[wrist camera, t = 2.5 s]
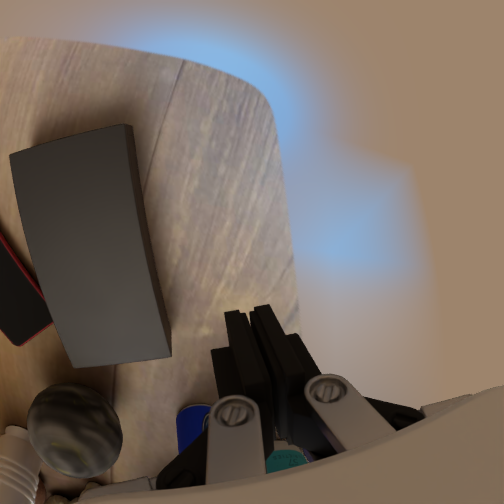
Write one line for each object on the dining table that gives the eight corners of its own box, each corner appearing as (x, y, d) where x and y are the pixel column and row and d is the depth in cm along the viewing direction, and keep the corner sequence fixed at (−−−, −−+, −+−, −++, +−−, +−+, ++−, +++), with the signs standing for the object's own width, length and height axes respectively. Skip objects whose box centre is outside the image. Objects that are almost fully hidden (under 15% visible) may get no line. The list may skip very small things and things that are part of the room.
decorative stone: (69, 346, 27) (41, 421, 17) (144, 401, 30) (142, 478, 21) (27, 390, 27) (2, 455, 18) (94, 436, 31) (86, 502, 22)
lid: (29, 151, 20) (8, 154, 17) (132, 125, 22) (124, 123, 18) (82, 343, 27) (73, 368, 23) (171, 331, 28) (172, 357, 25)
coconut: (50, 511, 30) (49, 488, 30) (23, 512, 27) (19, 488, 26) (41, 488, 34) (40, 463, 34) (15, 488, 30) (11, 463, 30)
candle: (16, 451, 30) (-4, 532, 16) (-6, 420, 27) (-36, 506, 14) (54, 457, 31) (40, 545, 17) (33, 425, 29) (8, 522, 15)
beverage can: (229, 418, 34) (260, 530, 20) (193, 435, 34) (211, 544, 20) (205, 394, 32) (229, 518, 18) (166, 412, 32) (176, 532, 18)
